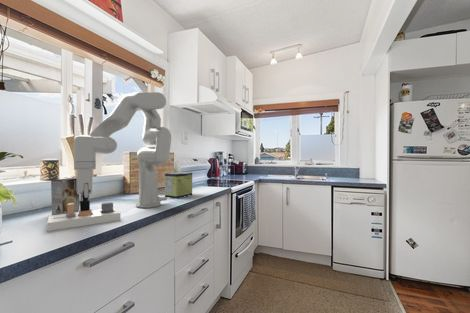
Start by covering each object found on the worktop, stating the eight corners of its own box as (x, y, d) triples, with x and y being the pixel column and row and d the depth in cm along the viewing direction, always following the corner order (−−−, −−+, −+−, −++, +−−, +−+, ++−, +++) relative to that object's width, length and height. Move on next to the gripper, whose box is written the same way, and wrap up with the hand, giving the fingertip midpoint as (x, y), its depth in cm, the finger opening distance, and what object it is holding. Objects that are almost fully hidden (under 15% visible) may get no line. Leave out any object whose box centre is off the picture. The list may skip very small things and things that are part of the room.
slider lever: (75, 214, 95) (75, 202, 95) (75, 216, 92) (75, 204, 92) (66, 215, 93) (65, 203, 93) (66, 217, 90) (66, 205, 90)
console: (114, 214, 108) (114, 207, 108) (120, 219, 98) (120, 212, 98) (48, 223, 93) (48, 215, 93) (47, 231, 84) (47, 222, 84)
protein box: (192, 195, 159) (192, 172, 158) (176, 198, 145) (176, 174, 145) (181, 193, 164) (181, 171, 164) (164, 197, 150) (164, 173, 150)
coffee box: (69, 210, 115) (68, 177, 115) (79, 210, 114) (79, 178, 114) (50, 214, 106) (50, 179, 106) (62, 215, 105) (62, 180, 105)
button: (112, 212, 104) (112, 201, 103) (114, 214, 100) (113, 203, 100) (100, 213, 101) (100, 203, 101) (102, 215, 97) (102, 204, 97)
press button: (91, 219, 99) (91, 208, 99) (92, 221, 95) (92, 210, 95) (78, 220, 96) (78, 210, 96) (79, 223, 93) (79, 212, 92)
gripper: (72, 165, 99) (72, 208, 99) (75, 166, 87) (74, 215, 87) (93, 165, 104) (93, 206, 104) (98, 166, 92) (97, 212, 92)
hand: (84, 210), depth 95 cm, fingers closed
